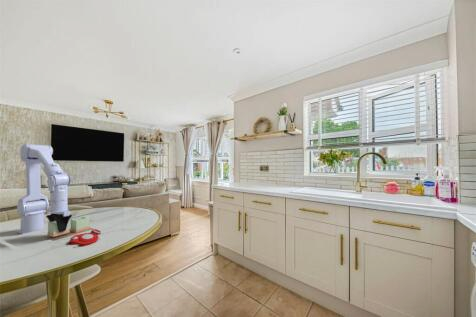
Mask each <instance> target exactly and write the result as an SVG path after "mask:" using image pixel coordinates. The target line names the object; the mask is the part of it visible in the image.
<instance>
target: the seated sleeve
mask: <svg viewBox="0 0 476 317" xmlns="http://www.w3.org/2000/svg"><path fill="white" fill-rule="evenodd" d="M90 224H91V222H90V217H88V216H80V217H75V218H72V219H71V218H70V227H69V230H70V231H72V232H80V231H83V230H87V229H90V228H91V225H90Z"/></svg>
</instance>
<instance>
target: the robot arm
mask: <svg viewBox="0 0 476 317" xmlns="http://www.w3.org/2000/svg"><path fill="white" fill-rule="evenodd" d="M19 151H20V161H22V162H24V163H25V173H26V174H25V175H26V176H25V178H26V179H25V180H26V194H25V195H24V196H22V197H21V198H19V199H18V201H17V206H16V212H17V214H19V216H21V218H20V230H18V231H17V233H19V234H22V235H24V234H28V233H32V232H37V231H41V230H44V229H46V227H45V217H46V218H47V219H48V221H49V222H53V221H56V222H57V226H58V231H59V232H62V231H65V230H66V227H67V224H68V221H69V222H70V220H71V218H72V216H73V215H72V214H71V211H70V210H69V208H68V204H69V202H68V199H69V197H68V196H69V194H68V191H69V190H68V189H69V188H68V187H69V186H70V184H71V181H72V180H71V175H70V173H66V172H64V170H63V169H62V168H61V166H60V164H58V162H57V163H55V160H54V159H53V157H52V155H53V154H54V149H53V147H52V146H51V145H50V144H48V145H47V144H31V143H29V144H28V143H24V144H22V145H21V147H20V150H19ZM41 164H42V165H43V167H42V171H43V173H44V174H45V176H46V177H47V180H46V184H47V187H48V191H49V198H48V195H44V194H43V193H42V186H41V182H42V180H41ZM48 199H49V200H48ZM45 213H46V215H45Z"/></svg>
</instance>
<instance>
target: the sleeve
mask: <svg viewBox="0 0 476 317" xmlns="http://www.w3.org/2000/svg"><path fill="white" fill-rule="evenodd" d="M69 232H70V220H69V221H68V224H67V227H66V230H65V231H62V232H59V231H58V226H57V222H56V221H53V222H50V221H49V222H47V236H52V237H55V236H58V235H62V234H65V233H69Z"/></svg>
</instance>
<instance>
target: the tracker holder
mask: <svg viewBox="0 0 476 317" xmlns="http://www.w3.org/2000/svg"><path fill="white" fill-rule="evenodd" d="M101 234H102V232H101V230H100V229H97V228H93V229H92V230H90V232H83V233H78V234H75V235H72V237H70V239H69V241H68V242H67V244H68V245H69V244H73V245H78V246H81V247H86V246H91V245H92V244H95V243H97V242H98V240H99V235H101Z"/></svg>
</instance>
